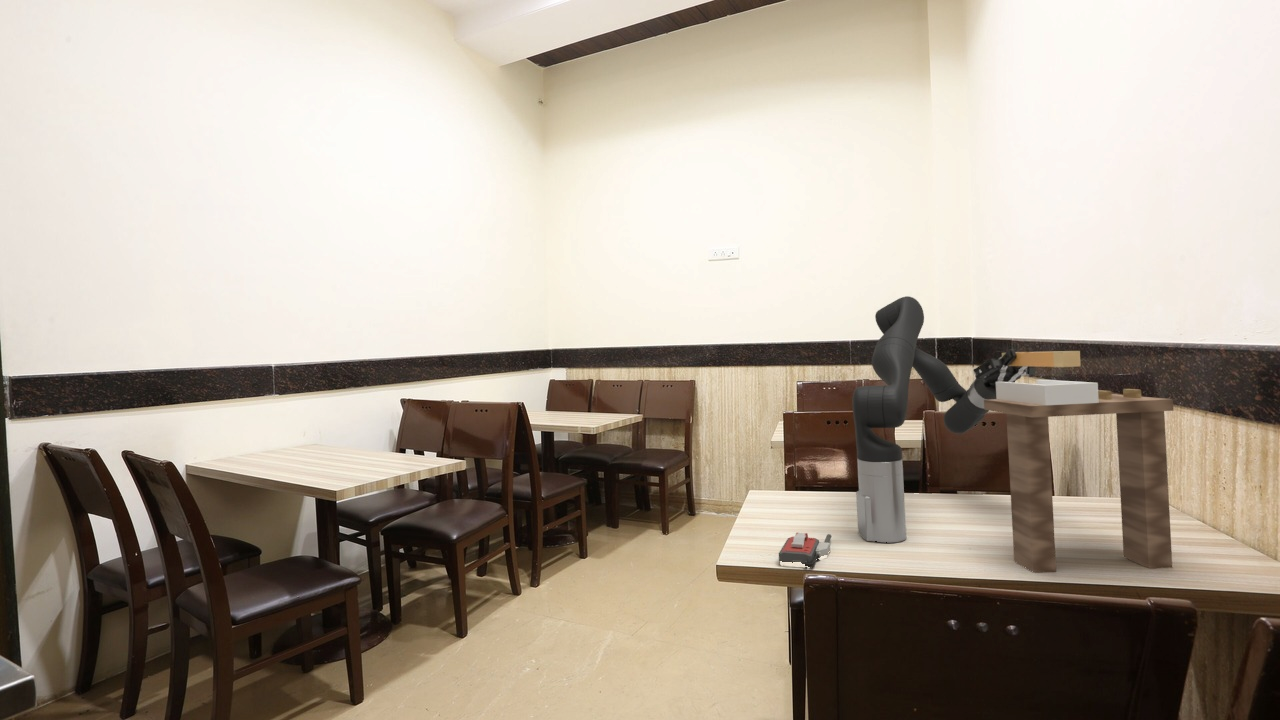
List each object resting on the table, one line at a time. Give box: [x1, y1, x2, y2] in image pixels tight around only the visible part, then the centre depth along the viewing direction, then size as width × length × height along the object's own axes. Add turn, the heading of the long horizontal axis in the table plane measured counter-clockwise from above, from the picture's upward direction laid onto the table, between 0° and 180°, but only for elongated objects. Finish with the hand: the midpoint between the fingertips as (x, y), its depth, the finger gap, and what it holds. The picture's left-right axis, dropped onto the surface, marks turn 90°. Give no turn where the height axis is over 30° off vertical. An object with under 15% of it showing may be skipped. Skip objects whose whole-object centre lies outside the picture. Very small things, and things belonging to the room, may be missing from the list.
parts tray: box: [996, 379, 1099, 405], centre depth 115 cm, size 9×16×4 cm, turn 177°
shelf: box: [984, 388, 1174, 573], centre depth 114 cm, size 24×16×32 cm, turn 88°
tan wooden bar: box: [1001, 350, 1081, 368], centre depth 129 cm, size 3×22×3 cm, turn 177°
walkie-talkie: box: [778, 532, 832, 567], centre depth 126 cm, size 9×4×20 cm
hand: (1022, 352), depth 135 cm, fingers closed on tan wooden bar, 3 cm apart
